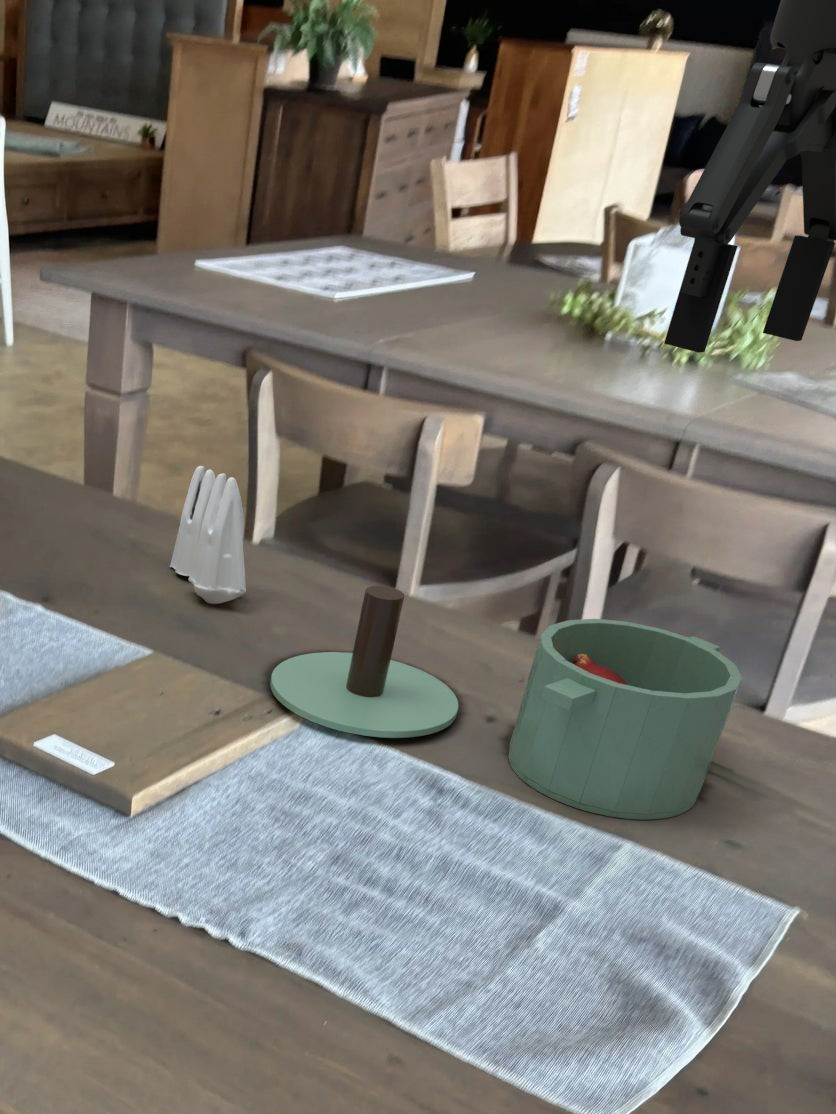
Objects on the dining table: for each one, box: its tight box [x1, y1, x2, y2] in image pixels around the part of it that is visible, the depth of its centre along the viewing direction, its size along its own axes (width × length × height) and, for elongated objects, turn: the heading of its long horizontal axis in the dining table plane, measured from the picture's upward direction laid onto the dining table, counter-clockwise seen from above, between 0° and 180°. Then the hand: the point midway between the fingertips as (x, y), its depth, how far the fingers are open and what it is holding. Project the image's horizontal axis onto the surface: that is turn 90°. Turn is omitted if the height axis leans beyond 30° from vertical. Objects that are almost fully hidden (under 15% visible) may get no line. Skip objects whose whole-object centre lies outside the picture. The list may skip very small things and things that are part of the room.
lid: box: [269, 585, 460, 739], centre depth 111 cm, size 15×15×9 cm
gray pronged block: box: [169, 465, 247, 605], centre depth 128 cm, size 12×4×11 cm, turn 12°
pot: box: [508, 618, 743, 821], centre depth 104 cm, size 14×19×10 cm
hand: (734, 342), depth 100 cm, fingers open, 13 cm apart
